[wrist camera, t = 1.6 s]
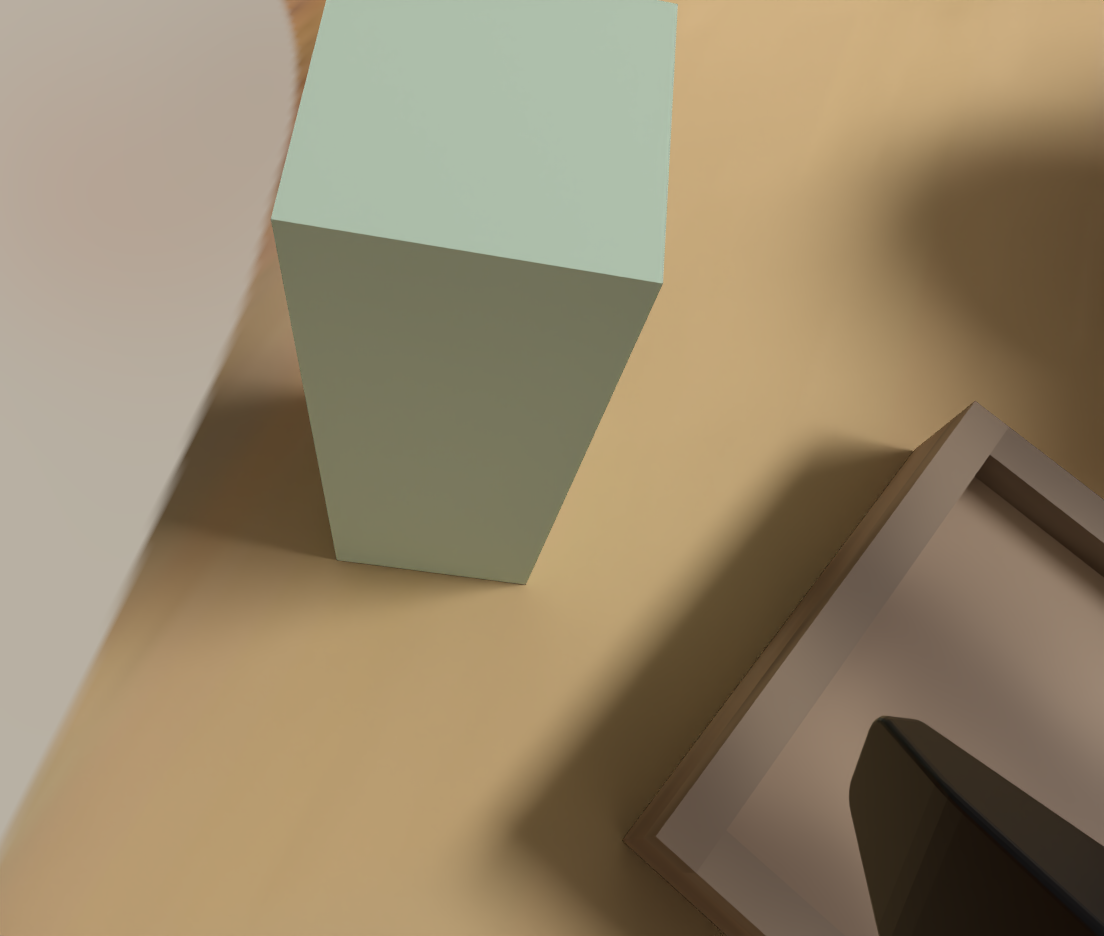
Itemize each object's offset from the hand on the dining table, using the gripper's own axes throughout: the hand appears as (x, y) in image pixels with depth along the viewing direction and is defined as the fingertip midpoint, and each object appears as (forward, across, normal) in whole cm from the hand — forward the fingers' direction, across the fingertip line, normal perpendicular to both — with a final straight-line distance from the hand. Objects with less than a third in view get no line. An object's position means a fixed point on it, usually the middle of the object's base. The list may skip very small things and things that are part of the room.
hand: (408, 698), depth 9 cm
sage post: (+14, 0, +4) cm, 15 cm away
